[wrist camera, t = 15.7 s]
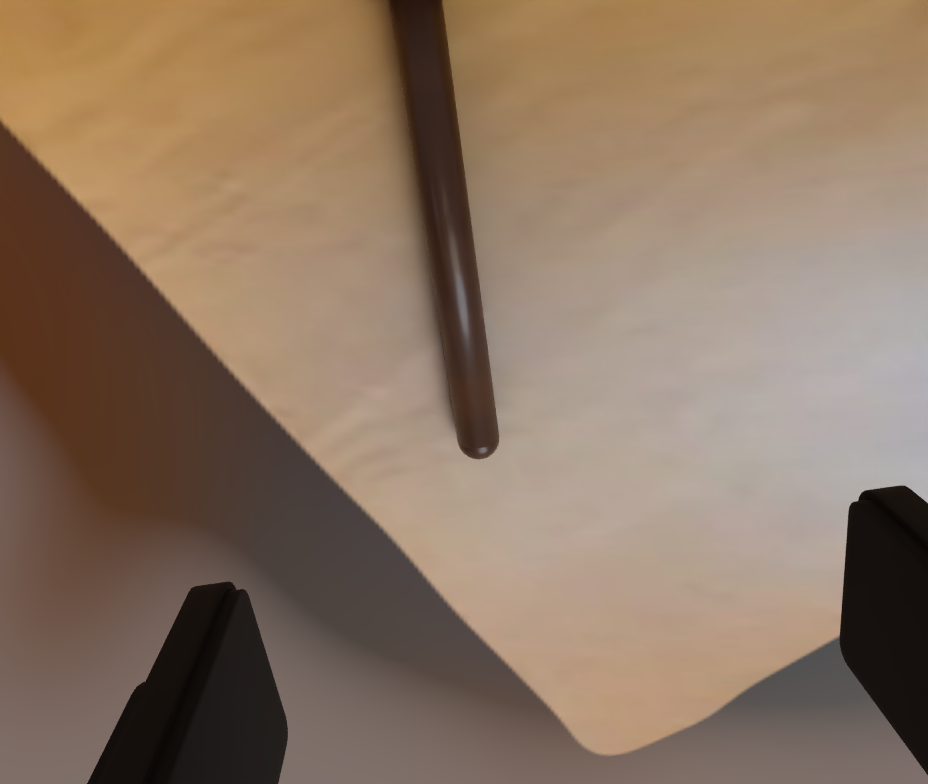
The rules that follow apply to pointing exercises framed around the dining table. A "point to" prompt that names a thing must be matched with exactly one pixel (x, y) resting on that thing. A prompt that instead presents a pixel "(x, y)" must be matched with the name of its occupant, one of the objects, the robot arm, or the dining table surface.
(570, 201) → the dining table surface
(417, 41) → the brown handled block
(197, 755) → the robot arm
